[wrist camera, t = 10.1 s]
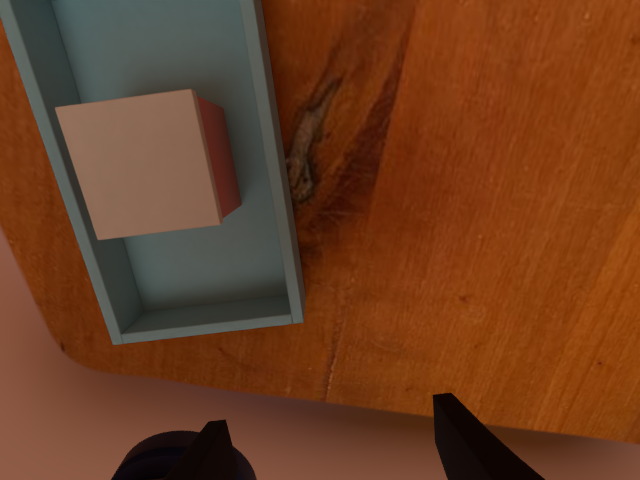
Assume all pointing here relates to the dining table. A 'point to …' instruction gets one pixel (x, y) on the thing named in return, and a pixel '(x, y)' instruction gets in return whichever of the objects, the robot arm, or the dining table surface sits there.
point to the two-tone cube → (151, 162)
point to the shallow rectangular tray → (246, 145)
